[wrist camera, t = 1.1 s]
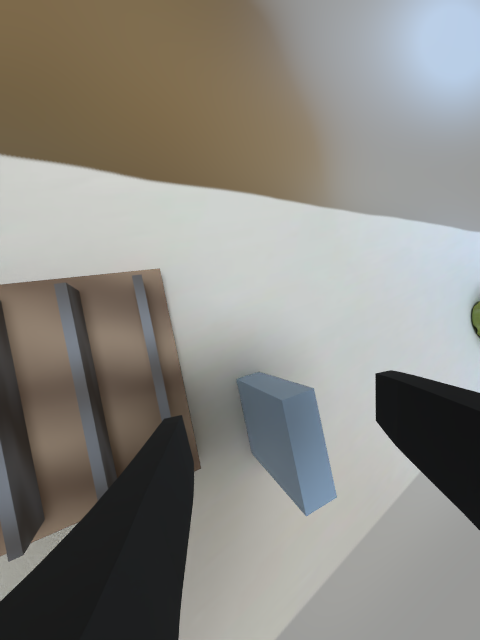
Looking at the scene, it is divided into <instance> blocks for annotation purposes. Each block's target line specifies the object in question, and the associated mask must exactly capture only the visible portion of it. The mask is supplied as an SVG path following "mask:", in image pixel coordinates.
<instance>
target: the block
mask: <svg viewBox="0 0 480 640" xmlns="http://www.w3.org/2000/svg"><path fill="white" fill-rule="evenodd" d="M236 380H237V384H238V389H239V394H240V399H241V404H242V408H243V413H244V418H245V423H246V427H247V432H248V437H249V442H250V447H251V451H252V454H253V455H254V456H255V458H256V459H257V460H258V461H259V462H260V463H261V464H262V466H263V467H264V468H265V469H266V470H267V471H268V473H269V474H270V475H271V476H272V477H273V478H274V480H275V481H276V482H277V483H278V484H279V485H280V487H281V488H282V489H283V490H284V491H285V492H286V493H287V495H288V496H289V497H290V498H291V499H292V500H293V502H294V503H295V504H296V505H297V506H298V507H299V509H300V510H301V511H302V512H303V513H304V514H305V516H308V515H309V514H311V513H312V512H314V511H316V510H317V509H319V508H320V507H322V506H324V505H325V504H327V503H328V502H330V501H332V500H333V499H335V498H336V497H337V496H336V491H335V486H334V481H333V477H332V472H331V467H330V463H329V458H328V453H327V448H326V444H325V439H324V434H323V430H322V425H321V420H320V415H319V411H318V406H317V401H316V396H315V392H314V388H311V387H307V386H304V385H301V384H298V383H294V382H291V381H288V380H284V379H281V378H278V377H275V376H271V375H268V374H265V373H261V372H257V373H254V374H251V375H247V376H244V377H241V378H238V379H236Z"/></svg>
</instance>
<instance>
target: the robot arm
mask: <svg viewBox="0 0 480 640" xmlns="http://www.w3.org/2000/svg"><path fill="white" fill-rule="evenodd" d="M376 421H377V423H378V424H379V425H380V426H381V428H382V429H383V430H384V432H385V433H386V434H387V435H388V437H389V438H390V439H391V440H392V442H393V443H394V444H395V445H396V446H397V447H398V448H399V449H400V450H401V452H402V453H403V454H404V455H405V456H406V457H407V458H408V459H409V460H410V461H411V462H412V463H413V464H414V465H415V466H416V467H417V468H418V469H419V470H420V471H421V472H422V473H423V474H424V475H425V476H426V477H427V478H428V479H429V480H430V481H431V482H432V483H433V484H435V486H436V487H437V488H438V489H439V490H440V491H441V492H442V493H443V494H444V495H445V496H447V498H448V499H450V501H451V502H452V503H454V505H456V506H457V507H458V508H459V509H460V510H461V511H462V512H463V513H464V514H465V516H466V517H467V518H468V519H469V520H470V521H471V522H472V523H473V524H474V525H475V526H476V527H477V528H478V529H479V530H480V393H478V392H474V391H470V390H467V389H463V388H459V387H456V386H452V385H448V384H444V383H441V382H437V381H433V380H430V379H426V378H422V377H418V376H414V375H410V374H406V373H402V372H397V371H391V370H390V371H386V372H381V373H376ZM193 496H194V460H193V456H192V452H191V449H190V445H189V441H188V437H187V433H186V429H185V425H184V421H183V417H182V415H179V416H174V417H170V418H165V419H164V420H163V421H162V422H161V423H160V425H159V426H158V427H157V429H156V430H155V431H154V432H153V434H152V435H151V436H150V438H149V439H148V440H147V442H146V443H145V444H144V446H143V447H142V448H141V449H140V451H139V452H138V453H137V454H136V456H135V457H134V458H133V460H132V461H131V462H130V463H129V465H128V466H127V467H126V468H125V470H124V471H123V472H122V473H121V474H120V476H119V477H118V478H117V479H116V480H115V482H114V483H113V484H112V485H111V486H110V487H109V489H108V490H107V491H106V492H105V493H104V494H103V496H102V497H101V498H100V499H99V500H98V501H97V503H96V504H95V505H94V506H93V507H92V508H91V510H90V511H89V512H88V513H87V514H86V515H85V516H84V517H83V518H82V520H81V521H80V522H79V523H78V524H77V525H76V526H75V527H74V528H73V529H72V530H71V531H70V533H69V534H68V535H67V536H66V537H65V538H64V539H63V540H62V541H61V542H60V543H59V544H58V545H57V546H56V547H55V548H54V549H53V550H52V551H51V552H50V553H49V554H48V555H47V556H46V557H45V558H44V560H43V561H42V562H41V563H40V564H39V565H38V566H37V567H36V568H35V569H34V570H33V571H32V572H31V573H30V574H29V575H27V576H26V577H25V578H24V579H23V580H22V581H21V582H20V583H19V584H18V585H17V586H16V587H15V588H14V589H13V590H12V591H11V592H10V593H9V594H8V595H7V596H6V597H5V598H4V599H3V600H1V601H0V640H178V638H179V620H180V609H181V598H182V589H183V580H184V572H185V564H186V555H187V547H188V539H189V531H190V522H191V514H192V505H193Z"/></svg>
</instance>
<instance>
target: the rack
mask: <svg viewBox="0 0 480 640" xmlns="http://www.w3.org/2000/svg"><path fill="white" fill-rule="evenodd" d="M179 415H182V417H183V421H184V425H185V429H186V433H187V437H188V441H189V445H190V449H191V452H192V456H193V460H194V471H196V470H199V469H201V466H200V461H199V456H198V451H197V446H196V441H195V437H194V432H193V427H192V422H191V417H190V412H189V408H188V403H187V398H186V393H185V388H184V384H183V379H182V374H181V369H180V364H179V359H178V355H177V350H176V345H175V340H174V335H173V330H172V326H171V321H170V316H169V311H168V306H167V301H166V297H165V292H164V287H163V282H162V277H161V272H160V269H150V270H141V271H131V272H121V273H111V274H101V275H91V276H81V277H71V278H62V279H52V280H42V281H32V282H22V283H12V284H2V285H0V556H2V555H4V554H7V557H8V562H9V561H11V560H13V559H16V558H18V557H20V556H22V555H24V553H25V551H26V550H27V548H28V546H29V545H30V543H32V542H34V541H36V540H39V539H41V538H43V537H46V536H48V535H50V534H52V533H55V532H57V531H59V530H62V529H64V528H66V527H68V526H71V525H73V524H75V523H78V522H80V521H81V520H82V518H83V517H84V516H85V515H86V514H87V513H88V512H89V511H90V510H91V508H92V507H93V506H94V505H95V504H96V503H97V501H98V500H99V499H100V498H101V497H102V496H103V494H104V493H105V492H106V491H107V490H108V489H109V487H110V486H111V485H112V484H113V483H114V482H115V480H116V479H117V478H118V477H119V476H120V474H121V473H122V472H123V471H124V470H125V468H126V467H127V466H128V465H129V463H130V462H131V461H132V460H133V458H134V457H135V456H136V454H137V453H138V452H139V451H140V449H141V448H142V447H143V446H144V444H145V443H146V442H147V440H148V439H149V438H150V436H151V435H152V434H153V432H154V431H155V430H156V429H157V427H158V426H159V425H160V423H161V422H162V421H163V420H164V419H165V418H170V417H174V416H179Z"/></svg>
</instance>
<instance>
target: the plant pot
mask: <svg viewBox="0 0 480 640" xmlns="http://www.w3.org/2000/svg"><path fill="white" fill-rule="evenodd" d="M472 312H473V313H472V321H473V325H474V326H475V327H476V328H477V330H478V332H477V334H478V335H479V336H480V301H479V302H478V304H477V305H475V306H474V308H473V311H472Z"/></svg>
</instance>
